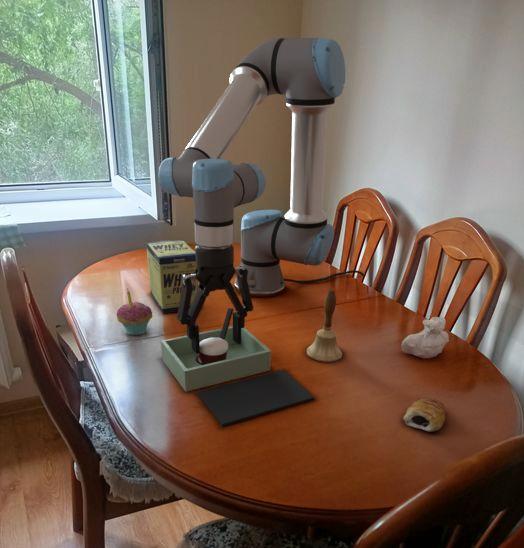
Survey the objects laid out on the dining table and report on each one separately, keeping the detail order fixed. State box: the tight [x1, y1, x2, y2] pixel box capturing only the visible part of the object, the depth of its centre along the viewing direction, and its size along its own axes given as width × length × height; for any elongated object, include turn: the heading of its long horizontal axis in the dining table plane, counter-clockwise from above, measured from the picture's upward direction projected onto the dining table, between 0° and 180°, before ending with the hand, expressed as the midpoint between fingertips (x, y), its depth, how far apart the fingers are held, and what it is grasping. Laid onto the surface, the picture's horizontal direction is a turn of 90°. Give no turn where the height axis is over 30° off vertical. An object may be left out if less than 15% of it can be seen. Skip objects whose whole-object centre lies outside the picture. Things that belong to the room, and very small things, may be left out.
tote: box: [160, 325, 272, 393], centre depth 108 cm, size 20×15×5 cm
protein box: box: [145, 239, 199, 315], centre depth 136 cm, size 10×16×16 cm
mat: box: [196, 369, 315, 427], centre depth 98 cm, size 20×12×1 cm, turn 119°
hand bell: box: [306, 288, 343, 363], centre depth 111 cm, size 8×8×16 cm
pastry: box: [403, 397, 447, 433], centre depth 93 cm, size 9×7×4 cm
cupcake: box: [116, 288, 153, 336], centre depth 120 cm, size 9×8×12 cm
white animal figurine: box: [400, 316, 450, 359], centre depth 113 cm, size 12×8×11 cm
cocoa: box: [196, 306, 234, 365], centre depth 106 cm, size 10×6×12 cm, turn 111°
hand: (216, 346), depth 107 cm, fingers open, 9 cm apart
